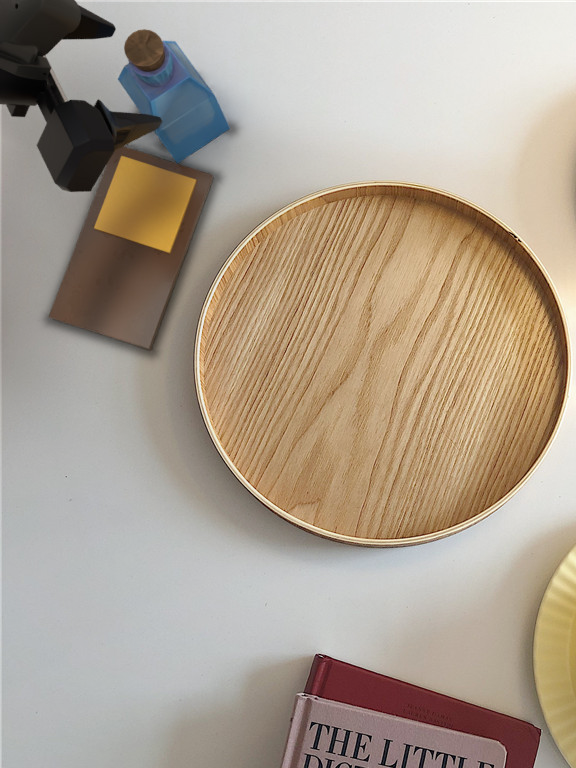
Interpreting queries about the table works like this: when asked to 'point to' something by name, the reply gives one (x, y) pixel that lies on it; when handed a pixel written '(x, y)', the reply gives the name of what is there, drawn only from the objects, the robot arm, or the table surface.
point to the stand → (131, 247)
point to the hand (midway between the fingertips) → (136, 76)
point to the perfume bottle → (171, 93)
